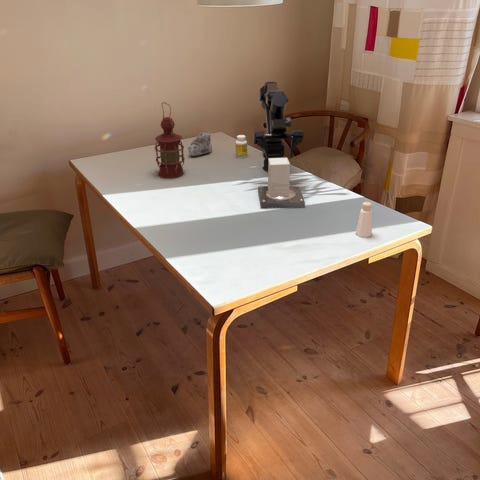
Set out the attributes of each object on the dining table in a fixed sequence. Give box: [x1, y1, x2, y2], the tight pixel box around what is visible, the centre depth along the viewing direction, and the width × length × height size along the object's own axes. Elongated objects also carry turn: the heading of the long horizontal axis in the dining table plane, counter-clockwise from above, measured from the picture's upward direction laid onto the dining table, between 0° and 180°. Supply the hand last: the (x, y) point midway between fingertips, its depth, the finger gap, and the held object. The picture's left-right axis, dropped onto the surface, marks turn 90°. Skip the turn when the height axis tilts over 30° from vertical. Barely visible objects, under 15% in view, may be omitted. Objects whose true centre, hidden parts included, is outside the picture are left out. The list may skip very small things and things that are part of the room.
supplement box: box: [267, 157, 291, 197], centre depth 193 cm, size 7×7×13 cm
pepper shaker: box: [355, 201, 373, 238], centre depth 168 cm, size 5×5×11 cm
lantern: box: [154, 101, 185, 179], centre depth 214 cm, size 12×12×30 cm
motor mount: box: [257, 184, 306, 209], centre depth 196 cm, size 16×16×3 cm
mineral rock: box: [187, 132, 213, 156], centre depth 243 cm, size 13×11×10 cm
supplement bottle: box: [234, 134, 248, 159], centre depth 239 cm, size 5×5×10 cm
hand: (279, 157), depth 198 cm, fingers open, 9 cm apart
